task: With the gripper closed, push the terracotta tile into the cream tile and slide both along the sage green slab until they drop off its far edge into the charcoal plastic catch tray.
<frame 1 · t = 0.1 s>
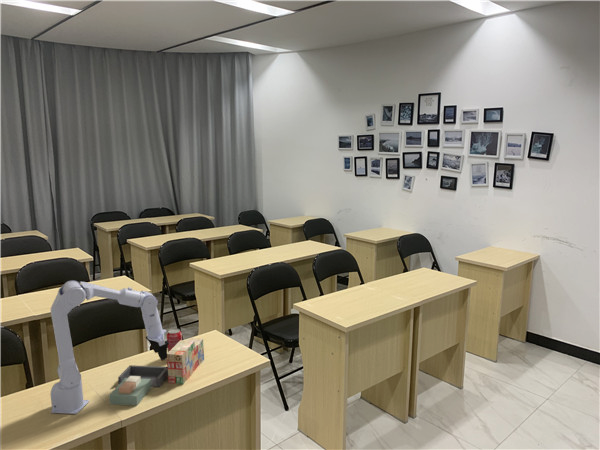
hand: (160, 355, 174), 11 cm above the table, tool pointing down, fingers open, 7 cm apart
beverage can: (175, 357, 196), on the table
terracotta tile: (127, 390, 162), point 3 cm above the table, touching sage green slab
stack of blocks: (187, 371, 184), on the table
cream tile: (133, 383, 167), point 3 cm above the table, touching sage green slab
catch tray: (144, 380, 177), on the table
sage green slab: (131, 395, 166), on the table
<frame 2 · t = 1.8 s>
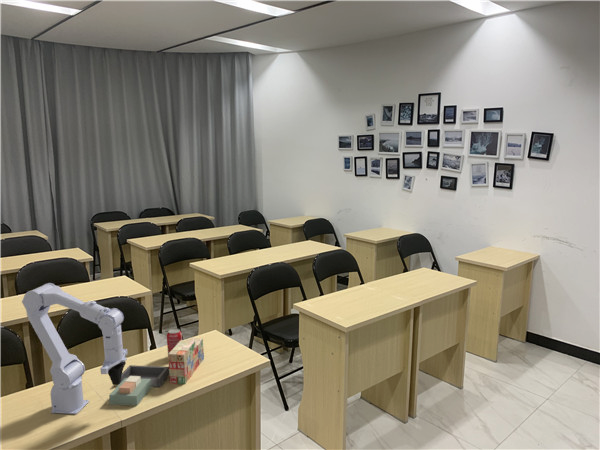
hand: (116, 383, 155), 10 cm above the table, tool pointing down, fingers closed
nothing on the table moved.
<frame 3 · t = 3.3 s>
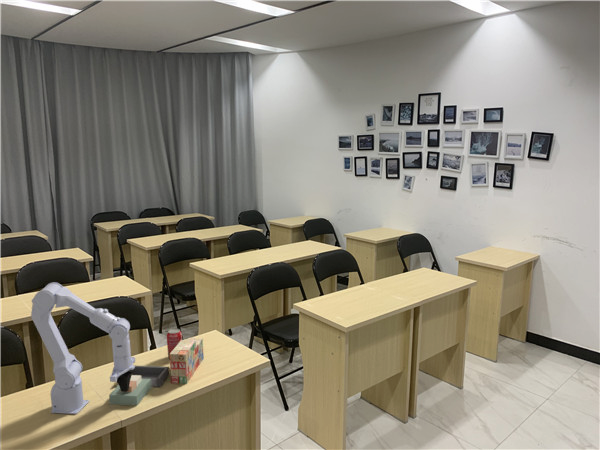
hand: (124, 390, 161), 4 cm above the table, tool pointing down, fingers closed
terracotta tile: (128, 388, 164), point 4 cm above the table, touching cream tile, gripper
cream tile: (134, 383, 167), point 4 cm above the table, touching sage green slab, terracotta tile
everything else where it was.
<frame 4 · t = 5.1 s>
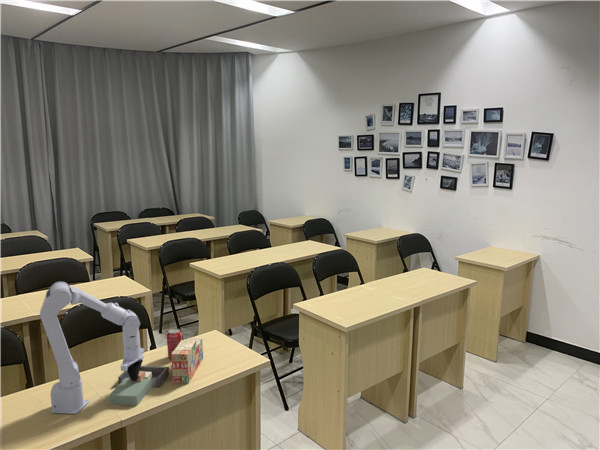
hand: (134, 379, 168), 4 cm above the table, tool pointing down, fingers closed
terracotta tile: (138, 378, 171), point 4 cm above the table, touching sage green slab, gripper
cream tile: (144, 374, 176), point 2 cm above the table, tilted 180°, touching catch tray
everything else where it was.
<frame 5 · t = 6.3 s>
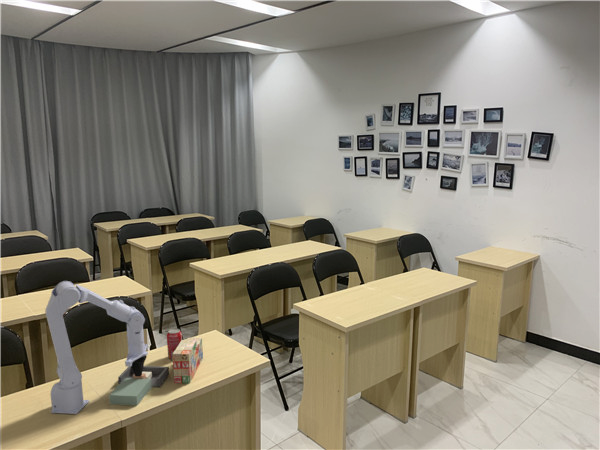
hand: (138, 375, 171), 4 cm above the table, tool pointing down, fingers closed
terracotta tile: (138, 380, 171), point 2 cm above the table, tilted 90°, touching catch tray
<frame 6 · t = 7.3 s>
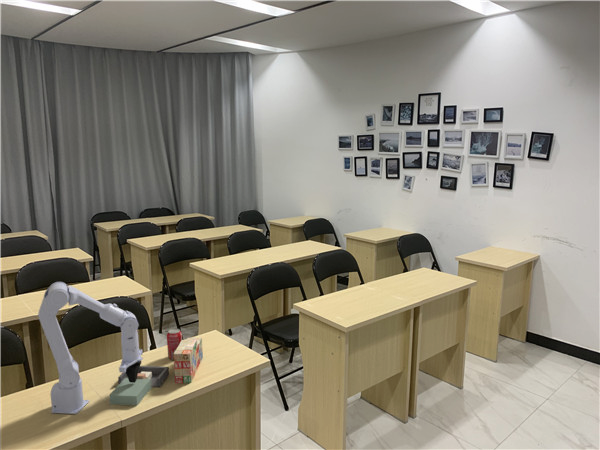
hand: (133, 381, 167), 4 cm above the table, tool pointing down, fingers closed
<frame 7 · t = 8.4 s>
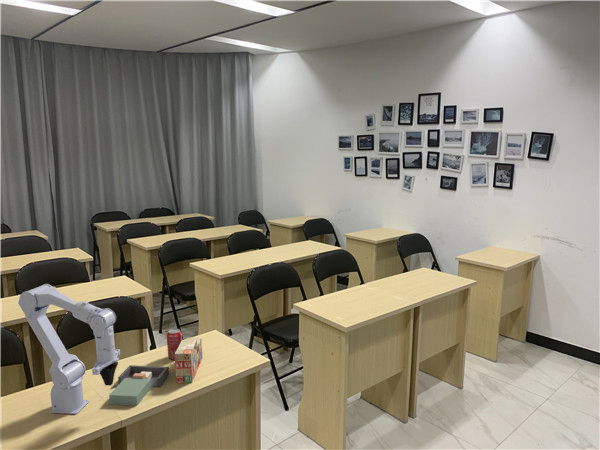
hand: (108, 384, 153), 10 cm above the table, tool pointing down, fingers closed
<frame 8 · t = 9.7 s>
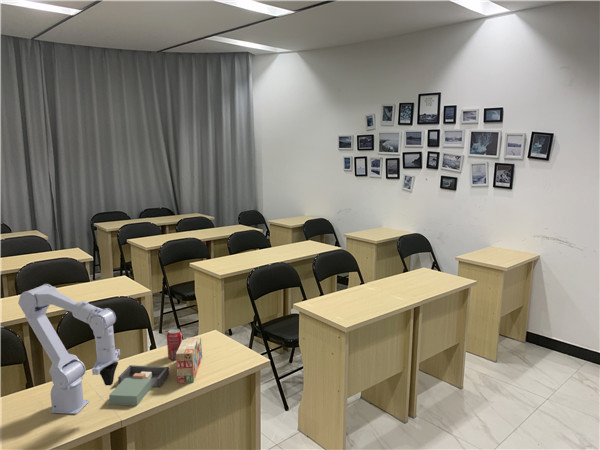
hand: (108, 384, 153), 10 cm above the table, tool pointing down, fingers closed
at the end: terracotta tile inside the target area on the catch tray (5.1 cm from its centre), point 2.4 cm above the catch tray's base; cream tile inside the target area on the catch tray (0.1 cm from its centre), point 2.4 cm above the catch tray's base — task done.
